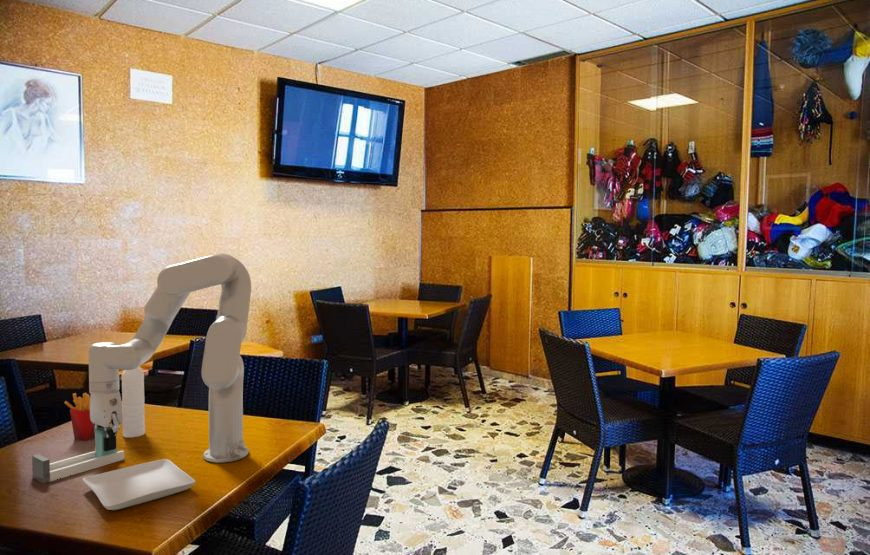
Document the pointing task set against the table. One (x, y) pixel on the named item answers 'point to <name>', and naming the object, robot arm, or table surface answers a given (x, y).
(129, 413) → the water bottle
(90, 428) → the french fries
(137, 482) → the salad plate
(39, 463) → the channel
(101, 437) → the block
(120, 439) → the table surface
